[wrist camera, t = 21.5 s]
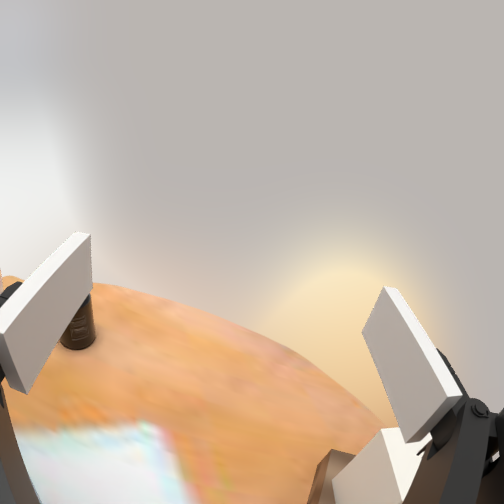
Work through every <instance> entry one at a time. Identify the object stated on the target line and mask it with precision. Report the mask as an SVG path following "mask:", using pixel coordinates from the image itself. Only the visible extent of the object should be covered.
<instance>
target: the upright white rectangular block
mask: <svg viewBox="0 0 504 504" xmlns="http://www.w3.org/2000/svg"><path fill="white" fill-rule="evenodd" d="M431 439H432V436H431V434H430V432H429V433H428V434H427V435H426V436H425V437H424V438H423V439H422V440H421V441H420V442H413V443H406V444H405V442H404V439H403V436H402V433H401V430H400V428H399V427H398V428H386V429H380V430H379V432H378V433H377V434H376V435H375V436H374V437H373V438H372V439H371V441H370V442H369V443H368V444H367V445H366V446H365V447H364V448H363V449H362V450H361V451H360V452H359V453H358V454H357V455H356V456H355V458H354V459H353V460H352V461H351V462H350V463H349V464H348V465H347V466H346V467H345V468H344V469H343V470H342V471H340V472H339V473H338V474H337V475H336V476H335V477H334V478H333V479H332V485H333V491H334V497H335V503H336V504H402V503H403V501H404V499H405V497H406V495H407V492H408V490H409V488H410V486H411V484H412V481H413V479H414V477H415V474H416V472H417V469H418V467H419V464H420V462H421V459H422V458H421V457H422V456H423V454H424V452H425V451H424V452H422V453H421V454H420V455H419V456H417V455H416V454H417V453H418V452H419V451H420V450H421V449H422V448H423V447H424V446H425V445H426V444H427V443H428V442H429V441H430V440H431Z"/></svg>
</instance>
